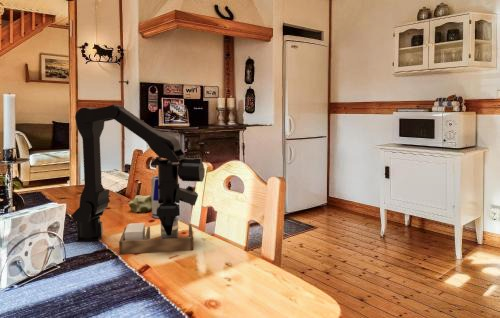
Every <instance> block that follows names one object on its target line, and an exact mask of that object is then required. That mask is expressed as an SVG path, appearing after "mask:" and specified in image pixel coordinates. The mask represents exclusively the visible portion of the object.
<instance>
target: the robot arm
mask: <svg viewBox="0 0 500 318" xmlns="http://www.w3.org/2000/svg"><path fill="white" fill-rule="evenodd" d="M74 118H75V119H74V120H75V124H76V128H77V131H78V133H79V134H80V136H81V139H82V155H83V158H82V159H83V178H84V185H83V186H84V187H83V189H82V192H81V194H80V196H79V197H80V198H79V206H78V208H77V209H76V210H75V211H74V212H73V213H72V214H71V217H72V221H73V222H74V223H76V233H77V238H76V239H75V241H76V242H89V241H91V242H92V241H100V239H101V237H102V236H103V234H104V229H103V221H101V216H103V215H104V211H105V210H106V209H107V208H108V207H109V203H110V202H111V201H110V197H109V196H110V190H109V189H105V188H104V186H103V183H102V166H101V165H102V163H101V162H102V161H101V159H102V158H101V135H102V133H103V130H104V128H105V122H109V121H112V120H114V121H116V122H117V123H119V124H120V125H121V126H122V127H124V128H126V129H127V130H129V131H131V133H133V134H135V135H136V136H137V137H139V138H140V139H141V140H143V142H145V143H146V144H147V145H148V147H149V149H151V151H152V152H153V153H154V154H155V155H156V157H155V159H154V160H152V161H151V162H150V165H151V166H157V176H158V189H159V199H158V203H159V205H158V206H157V217H159V218H158V219H159V221H160V224H161V223H162V225H163V227H164V229H165V232H166V234H167V235H171V232H172V227H173V222H174V219H175V218H176V217H179V216H180V215H181V214H180V212H181V211H180V210H181V209H180V203H181V202H183V203H186V204H188V205H190V206H195V205H196V204H197V200H198V197H199V193H197V191H194V190H195V189H194V187H193V186H191V185H188V186H187V187H186V188H184V187H183V188H182V187H180V183H179V179H180V180H181V182H196V183H197V182H201V183H202V182H203V181H204V179H205V172H206V170H205V167H204V163H203V157H202V158H201V157H196V158H191V157H189V158H188V156H187V155H186V154H185V152H184V150H183V149H182V148H181V145H180V141H179V140H178V139H177V138H176V137H174V136H171V135H170V134H167V133H164V132H161V131H159V130H157V129H155V128H154V127H152V126H150V124H147V123H146V122H145V121H143V120H142V119H140V118H139V117H138V116H136V115H135V114H133V113H132V112H130V111H129V110H127V109H126V108H125V107H124V106H123V105H122V104H111V105H109V106H103V107H81V108H79V109H78V110H77V111H76V113H75V115H74ZM161 203H162V204H161Z"/></svg>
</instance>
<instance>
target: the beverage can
mask: <svg viewBox="0 0 500 318" xmlns="http://www.w3.org/2000/svg"><path fill="white" fill-rule="evenodd" d="M150 179H151V180H150V191H151V194H150V195H151V197H152V209H151V215H152V217H153V218H155V219H159V217H157V206H158V205H159V203H158V199H159V189H158V175H157V176H151V177H150ZM161 204H162V203H161Z"/></svg>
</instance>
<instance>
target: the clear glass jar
mask: <svg viewBox="0 0 500 318" xmlns="http://www.w3.org/2000/svg"><path fill="white" fill-rule="evenodd" d="M165 238H179V216H177V217H176V218H175V219H174V222H173V227H172V232H171V235H167V234H166V232H165V229H164V227H163V225H162V223H161V222H160V239H165Z"/></svg>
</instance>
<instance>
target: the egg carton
mask: <svg viewBox="0 0 500 318" xmlns="http://www.w3.org/2000/svg"><path fill="white" fill-rule="evenodd" d="M145 223H146V222H138V223H137V222H133V223H128V224H127V225H126V227H127V228H126V230H125V241H127V240H145V236H146V224H145Z"/></svg>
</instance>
